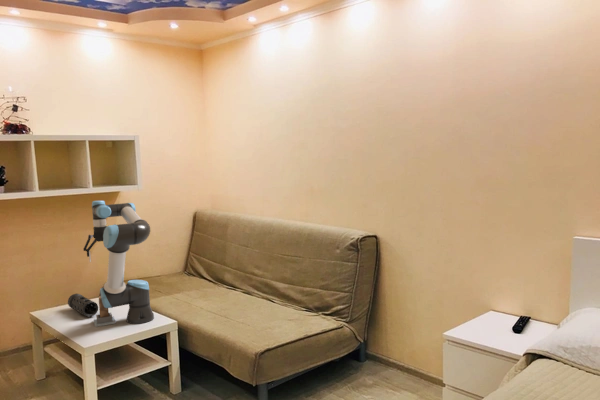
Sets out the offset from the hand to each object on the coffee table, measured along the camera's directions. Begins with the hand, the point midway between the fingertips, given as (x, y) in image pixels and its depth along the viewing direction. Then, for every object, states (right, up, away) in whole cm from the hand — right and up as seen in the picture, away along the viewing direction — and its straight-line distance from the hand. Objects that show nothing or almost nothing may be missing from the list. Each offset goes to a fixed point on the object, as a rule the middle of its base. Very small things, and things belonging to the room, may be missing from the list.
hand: (102, 260), depth 301 cm
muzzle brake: (-13, -33, +4) cm, 36 cm away
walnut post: (+7, -33, -15) cm, 37 cm away
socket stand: (+7, -34, -15) cm, 38 cm away
